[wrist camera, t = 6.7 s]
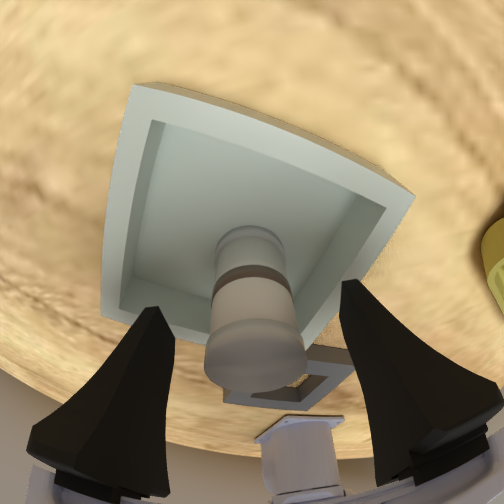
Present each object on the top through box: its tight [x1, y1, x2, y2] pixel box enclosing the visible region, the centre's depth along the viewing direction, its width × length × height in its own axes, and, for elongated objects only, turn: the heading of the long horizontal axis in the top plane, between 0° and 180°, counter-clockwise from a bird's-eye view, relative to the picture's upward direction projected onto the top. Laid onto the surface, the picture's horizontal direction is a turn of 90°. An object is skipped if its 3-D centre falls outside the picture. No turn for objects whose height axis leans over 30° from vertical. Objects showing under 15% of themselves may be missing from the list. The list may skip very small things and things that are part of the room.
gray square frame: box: [223, 344, 355, 411], centre depth 21 cm, size 8×8×2 cm
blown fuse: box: [204, 225, 308, 393], centre depth 12 cm, size 3×3×6 cm
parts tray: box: [101, 82, 416, 351], centre depth 13 cm, size 11×11×3 cm
